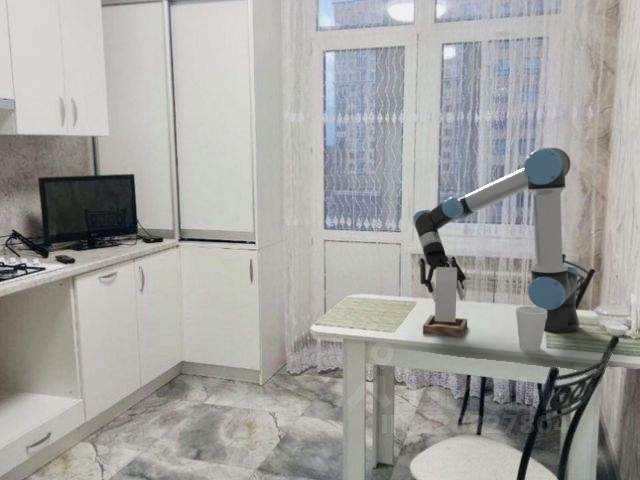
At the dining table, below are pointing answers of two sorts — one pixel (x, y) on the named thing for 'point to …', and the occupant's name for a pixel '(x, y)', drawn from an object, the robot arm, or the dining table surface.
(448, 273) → the milk carton
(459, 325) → the tray
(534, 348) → the foam cup
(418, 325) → the dining table surface
